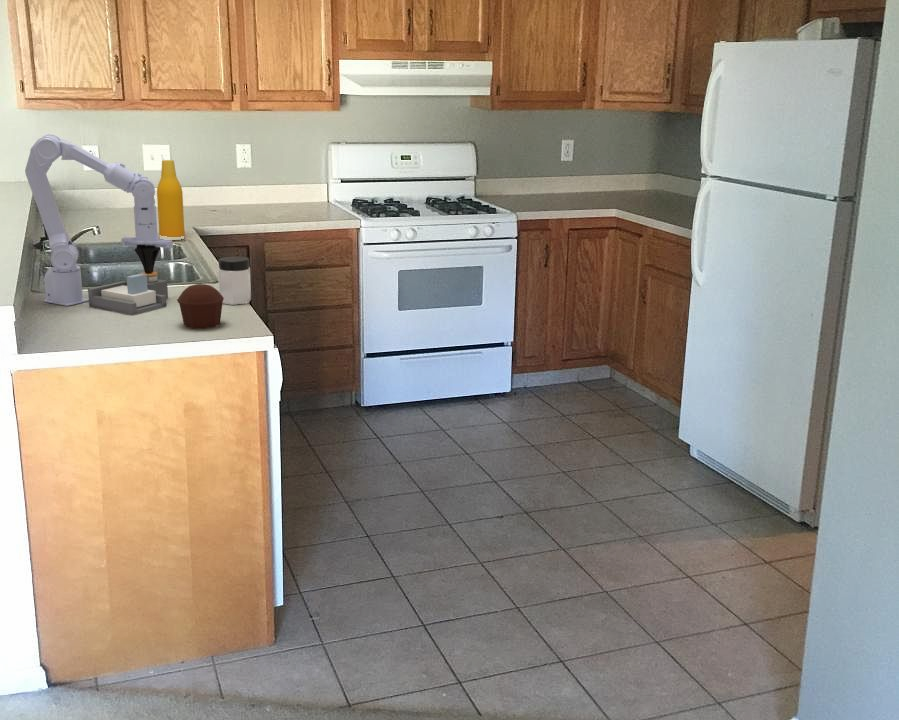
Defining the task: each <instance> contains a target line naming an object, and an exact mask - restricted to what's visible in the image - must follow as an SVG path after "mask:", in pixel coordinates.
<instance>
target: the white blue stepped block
mask: <svg viewBox="0 0 899 720" xmlns="http://www.w3.org/2000/svg"><path fill="white" fill-rule="evenodd" d="M126 282H127V286H124V285H123V286H118V287H114V288H109V289H105V290H101V294H102V297H107V298H112V299H118V300H123V301H129V302H134V303H136V307H141V306H145V305H149V304H153V303H156V292H155V291H153V290H148V288H147V274H141V273H137V274H132V275H129V276H128V275H127V276H126Z"/></svg>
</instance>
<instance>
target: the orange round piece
mask: <svg viewBox="0 0 899 720" xmlns="http://www.w3.org/2000/svg"><path fill="white" fill-rule="evenodd" d="M140 274H147V283H153V282H157V281H158V280H157V279H158V271H156V270H153V272H152V273H145V271H141V272H140Z"/></svg>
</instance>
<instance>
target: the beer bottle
mask: <svg viewBox="0 0 899 720" xmlns="http://www.w3.org/2000/svg"><path fill="white" fill-rule="evenodd" d="M160 173H161V175H160V179H159V182H158V184H157V187H156V197H157V198H156V201H157V215H158V216H157V217H158V236H159V235H161V236H167V237H181V236H185V237H186V232H185V219H184V215H185V214H184V202H183V201H184V198H183V195H184V194H183V188H182V186H181V184H180V181H179V179H178V176H177V172H176V167H175V161H174V160H173V159H164V160H163V159H162V160H161V172H160Z"/></svg>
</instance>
